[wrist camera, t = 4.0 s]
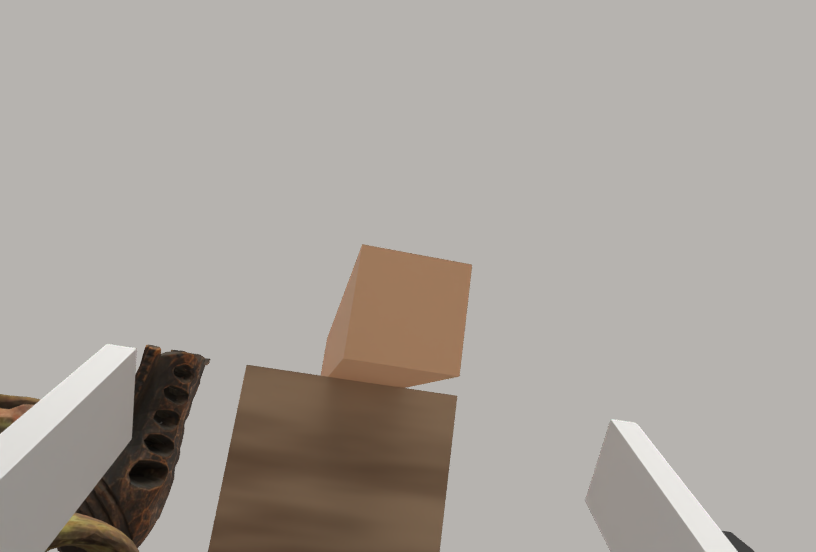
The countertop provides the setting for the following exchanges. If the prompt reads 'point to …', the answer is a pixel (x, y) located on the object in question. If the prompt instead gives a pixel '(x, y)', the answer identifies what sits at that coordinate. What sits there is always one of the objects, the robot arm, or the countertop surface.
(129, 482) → the statue
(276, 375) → the walnut stand
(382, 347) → the bar
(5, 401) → the ceramic vessel
